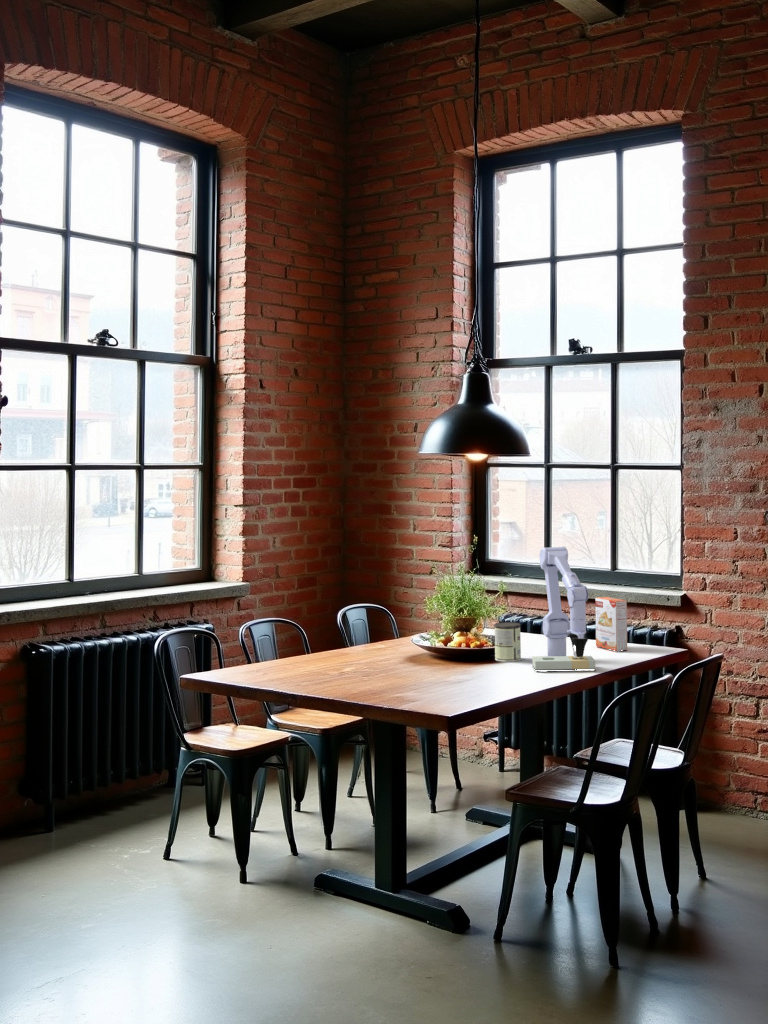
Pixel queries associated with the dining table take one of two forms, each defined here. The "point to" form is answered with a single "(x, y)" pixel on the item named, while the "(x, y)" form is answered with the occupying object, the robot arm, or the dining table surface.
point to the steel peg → (575, 654)
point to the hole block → (563, 663)
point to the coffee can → (507, 642)
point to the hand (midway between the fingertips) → (578, 654)
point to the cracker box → (611, 623)
